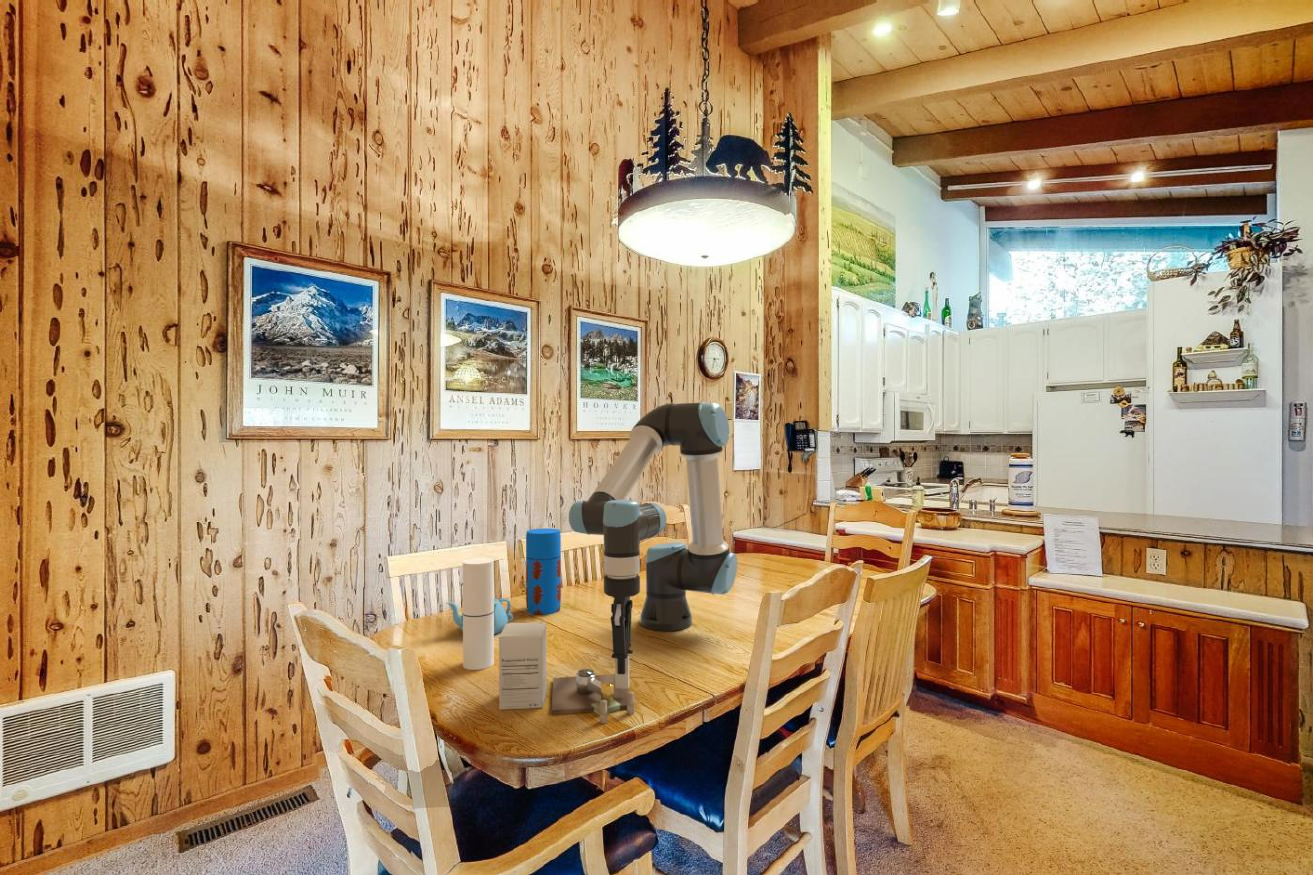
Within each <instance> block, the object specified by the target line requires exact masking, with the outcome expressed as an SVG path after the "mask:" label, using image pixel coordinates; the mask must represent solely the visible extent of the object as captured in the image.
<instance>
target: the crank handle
mask: <svg viewBox="0 0 1313 875" xmlns="http://www.w3.org/2000/svg"><path fill="white" fill-rule="evenodd" d="M595 675H596V672H595V671H594V669H591V668H582V669H579V671H577V673H576V676H575V677H576V690H577V691H578V692H580V693H590V692H593V691H594V692H595V693H597V694H598V695H600V696H601V700H607V702H611V701H613V700H614V683H613V682H609V681H607V682H603V683H601V682H600V681H598V680H596V679H595Z"/></svg>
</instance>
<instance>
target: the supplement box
mask: <svg viewBox="0 0 1313 875" xmlns="http://www.w3.org/2000/svg"><path fill="white" fill-rule="evenodd" d="M547 668H548V667H547V622H546V621H542V622H541V621H540V622H508V623H506V624H505V626H504V628H503V630H502V631H501V632H500V634H499V637H498V686H499V687H498V693H499V694H498V696H499V697H498V698H499V702H498V704H499V705H498V708H499V710H503V711H504V710H523V709H524V710H525V709H526V710H527V709H543V707H544V704H545V698H546V694H547V691H548V689H547V687H548V685H547V682H548V681H547V680H548V679H547V673H548V672H547Z"/></svg>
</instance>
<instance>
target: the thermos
mask: <svg viewBox="0 0 1313 875" xmlns="http://www.w3.org/2000/svg"><path fill="white" fill-rule="evenodd" d="M561 538H562V535H561V530H560V529H558V528H551V527H549V528H547V527H546V528H533V529H529V530H527V531H526V535H525V556H526V557H525V602H526V612H527V613H528V614H530V615H536V616H545V615H552V614H553V615H554V614H555V613H558V612H560V611H561V601H562V600H561V599H562V574H561V573H562V562H561V561H562V560H561V559H562V557H561V556H562V551H561V550H562V547H561V546H562V544H561V541H562V539H561Z"/></svg>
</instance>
